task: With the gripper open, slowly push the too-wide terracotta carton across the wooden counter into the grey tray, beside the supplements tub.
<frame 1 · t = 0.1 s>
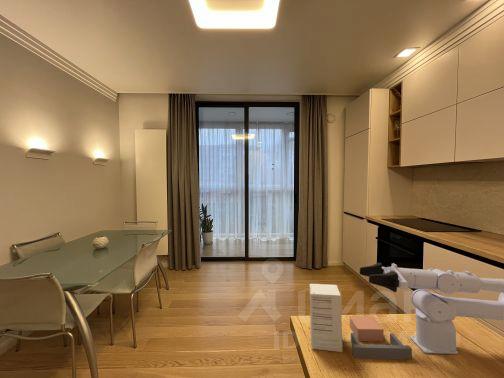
hand: (364, 274, 78), 22 cm above the kitchen island, tool horizontal, fingers open, 7 cm apart
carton: (365, 334, 83), on the kitchen island
grey tray: (376, 348, 75), on the kitchen island
supplement box: (325, 342, 79), on the kitchen island
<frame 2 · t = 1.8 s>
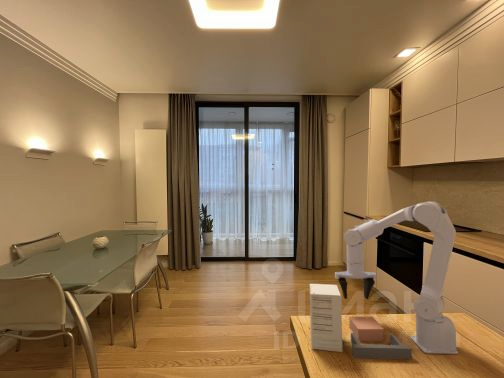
hand: (355, 297, 92), 8 cm above the kitchen island, tool pointing down, fingers open, 7 cm apart
nothing on the kitchen island moved.
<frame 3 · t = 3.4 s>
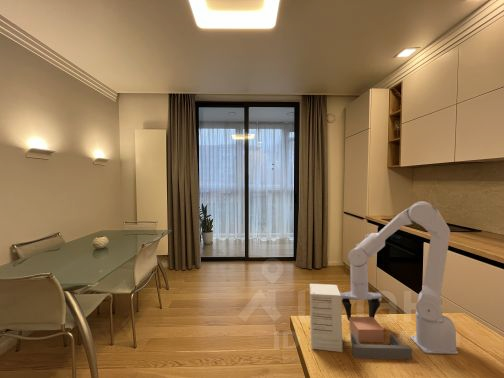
hand: (360, 319, 88), 2 cm above the kitchen island, tool pointing down, fingers open, 7 cm apart
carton: (366, 334, 83), on the kitchen island, touching gripper
everything else where it was.
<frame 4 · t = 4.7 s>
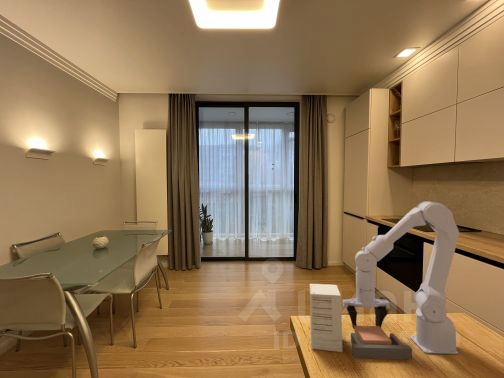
hand: (366, 328, 83), 2 cm above the kitchen island, tool pointing down, fingers open, 7 cm apart
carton: (372, 345, 77), on the kitchen island
everything else where it was.
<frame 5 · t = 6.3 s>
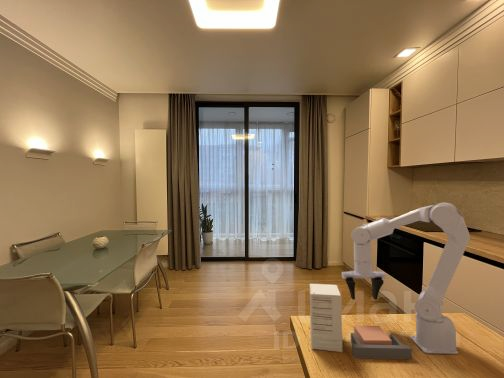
hand: (363, 298, 89), 9 cm above the kitchen island, tool pointing down, fingers open, 7 cm apart
nothing on the kitchen island moved.
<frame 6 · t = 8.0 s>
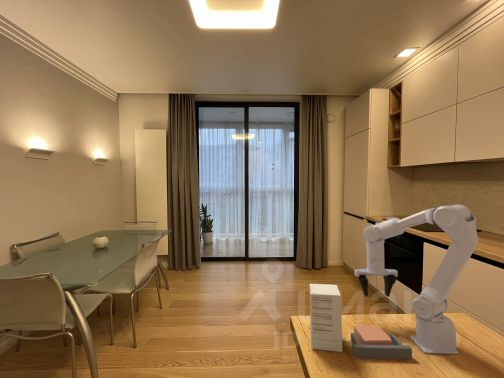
hand: (376, 295, 91), 9 cm above the kitchen island, tool pointing down, fingers open, 7 cm apart
nothing on the kitchen island moved.
at the end: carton 0.5 cm from the target spot, on the kitchen island; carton moved 6.0 cm from its start; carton tilted 0° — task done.
